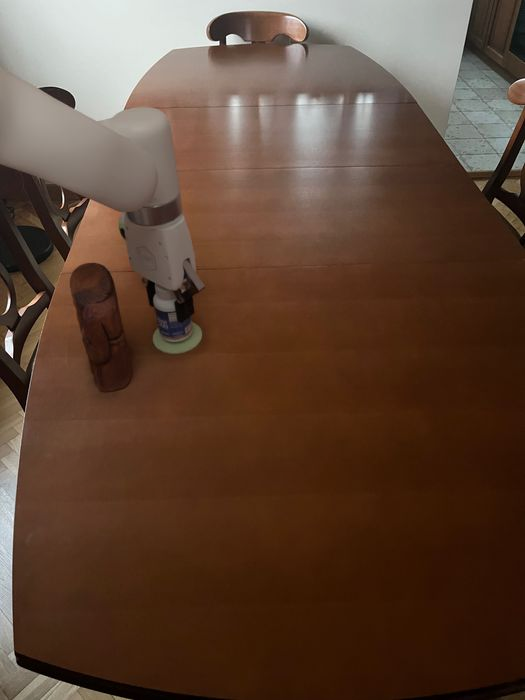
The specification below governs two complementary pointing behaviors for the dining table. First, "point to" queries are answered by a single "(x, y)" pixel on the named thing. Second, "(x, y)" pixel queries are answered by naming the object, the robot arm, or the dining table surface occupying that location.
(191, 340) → the coaster
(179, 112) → the dining table surface
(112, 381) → the wooden figurine
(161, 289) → the pill bottle
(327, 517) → the dining table surface
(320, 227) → the dining table surface
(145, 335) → the dining table surface
